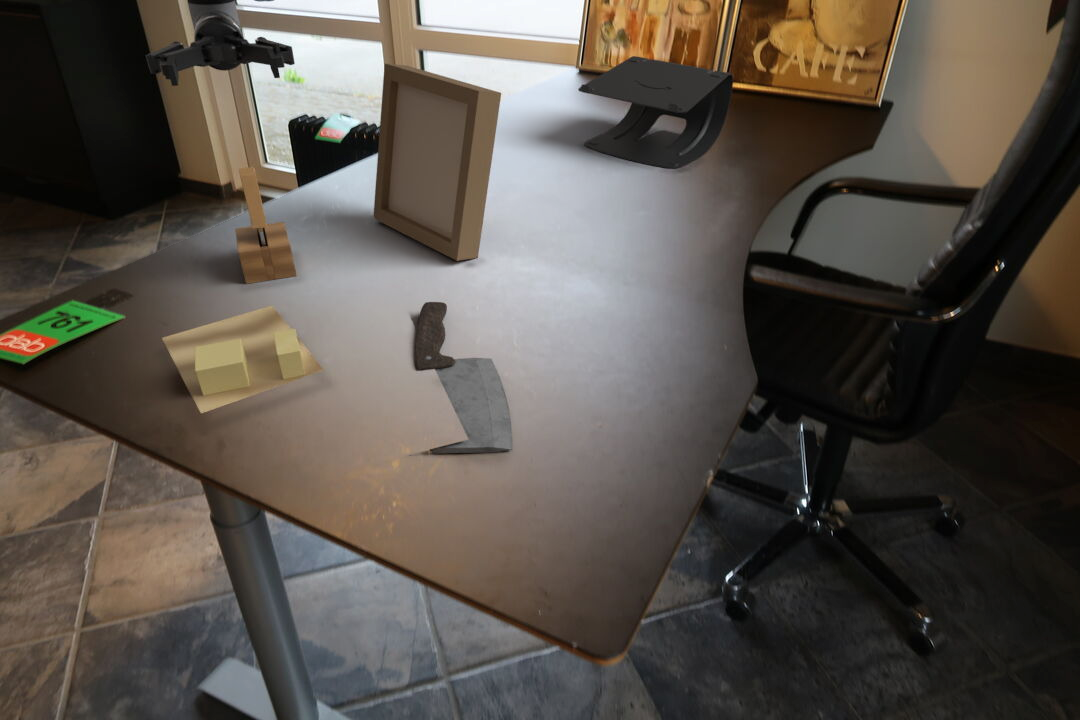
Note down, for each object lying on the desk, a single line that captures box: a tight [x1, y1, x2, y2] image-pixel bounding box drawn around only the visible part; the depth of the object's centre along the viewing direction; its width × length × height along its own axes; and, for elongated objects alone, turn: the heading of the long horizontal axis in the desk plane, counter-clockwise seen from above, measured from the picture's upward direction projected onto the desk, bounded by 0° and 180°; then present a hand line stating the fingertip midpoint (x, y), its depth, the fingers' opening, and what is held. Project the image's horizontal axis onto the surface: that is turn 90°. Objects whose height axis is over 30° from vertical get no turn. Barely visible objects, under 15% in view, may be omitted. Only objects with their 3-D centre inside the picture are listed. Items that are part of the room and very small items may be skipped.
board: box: [161, 305, 324, 414], centre depth 86 cm, size 18×14×2 cm
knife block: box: [234, 221, 297, 285], centre depth 105 cm, size 9×7×5 cm
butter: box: [195, 339, 250, 396], centre depth 80 cm, size 5×5×4 cm
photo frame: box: [372, 62, 502, 262], centre depth 111 cm, size 15×22×25 cm
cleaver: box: [414, 301, 513, 454], centre depth 84 cm, size 29×10×2 cm, turn 13°
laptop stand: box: [578, 55, 734, 169], centre depth 151 cm, size 26×24×16 cm
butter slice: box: [273, 328, 305, 379], centre depth 83 cm, size 5×2×4 cm, turn 22°
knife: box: [238, 166, 268, 247], centre depth 102 cm, size 6×2×15 cm, turn 22°
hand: (225, 71), depth 99 cm, fingers open, 13 cm apart
